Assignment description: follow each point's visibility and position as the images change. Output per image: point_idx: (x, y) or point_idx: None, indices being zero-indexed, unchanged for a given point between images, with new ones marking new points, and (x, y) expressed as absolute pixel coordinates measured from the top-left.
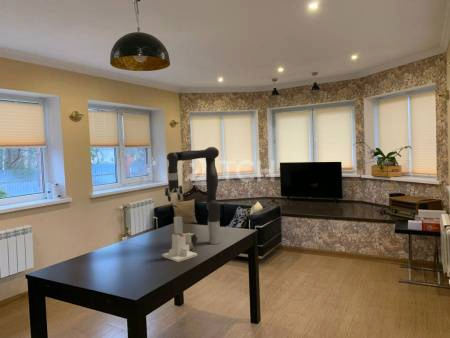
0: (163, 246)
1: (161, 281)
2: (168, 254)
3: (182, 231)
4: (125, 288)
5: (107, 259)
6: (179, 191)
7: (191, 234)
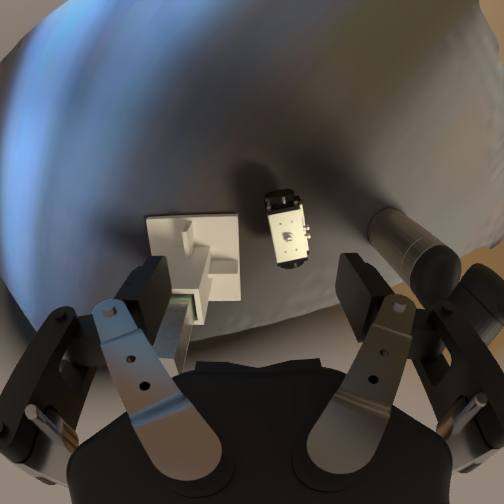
0: (224, 98)
1: None
2: (163, 237)
3: (192, 325)
4: None
5: (30, 118)
6: (446, 341)
7: (291, 250)
